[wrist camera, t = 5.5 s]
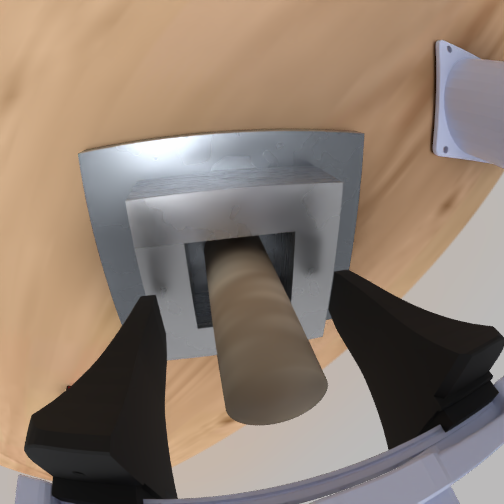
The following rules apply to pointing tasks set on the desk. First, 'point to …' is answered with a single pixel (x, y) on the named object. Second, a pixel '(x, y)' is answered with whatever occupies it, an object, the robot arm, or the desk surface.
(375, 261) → the desk surface
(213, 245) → the peg
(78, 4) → the desk surface
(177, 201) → the socket
